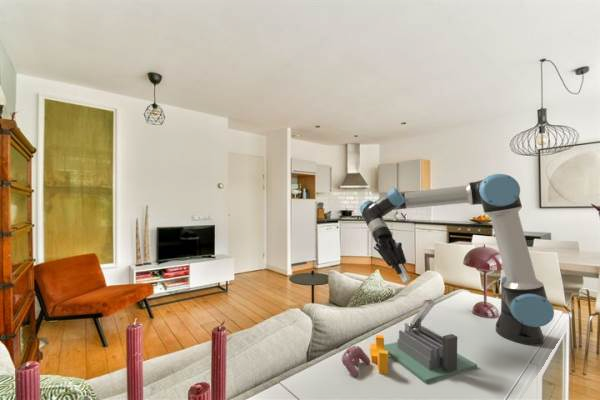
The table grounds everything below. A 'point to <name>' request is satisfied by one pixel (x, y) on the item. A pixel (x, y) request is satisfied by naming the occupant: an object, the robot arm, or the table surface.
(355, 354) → the video game controller
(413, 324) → the retention strap
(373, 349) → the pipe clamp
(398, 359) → the heat sink board
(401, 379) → the table surface
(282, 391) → the table surface
